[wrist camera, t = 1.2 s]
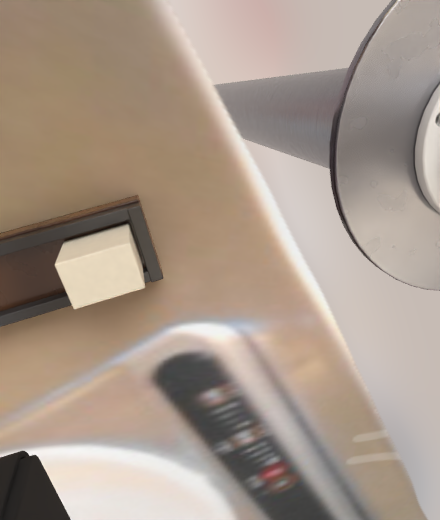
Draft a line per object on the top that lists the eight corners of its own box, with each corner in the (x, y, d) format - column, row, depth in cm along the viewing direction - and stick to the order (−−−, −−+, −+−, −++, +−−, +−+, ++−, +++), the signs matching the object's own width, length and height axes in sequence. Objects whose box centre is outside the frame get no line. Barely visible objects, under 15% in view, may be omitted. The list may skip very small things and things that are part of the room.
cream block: (128, 222, 25) (129, 242, 22) (142, 263, 26) (145, 288, 23) (62, 241, 25) (53, 264, 21) (79, 281, 26) (73, 310, 22)
